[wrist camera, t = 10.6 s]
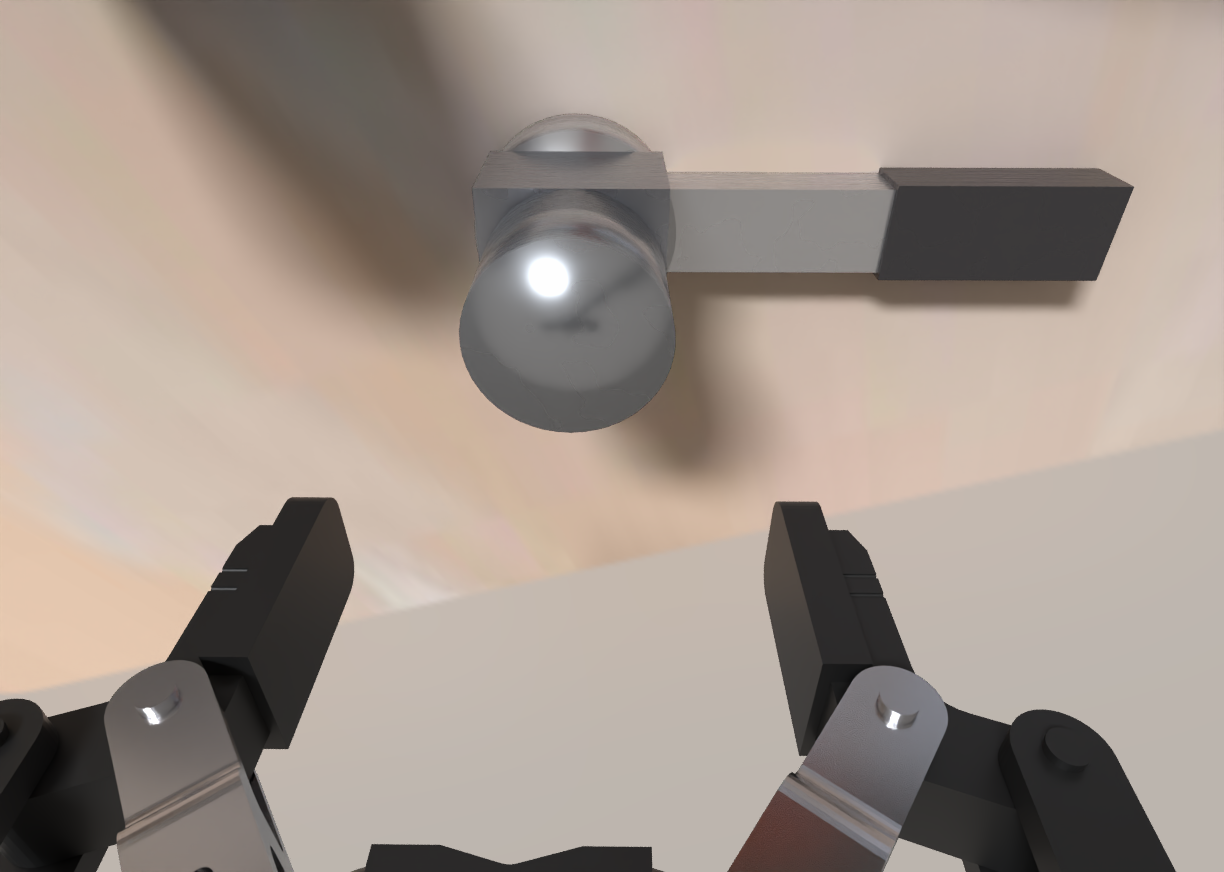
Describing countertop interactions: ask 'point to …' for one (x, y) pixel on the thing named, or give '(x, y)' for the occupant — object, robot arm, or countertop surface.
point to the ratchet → (873, 216)
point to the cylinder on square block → (570, 286)
